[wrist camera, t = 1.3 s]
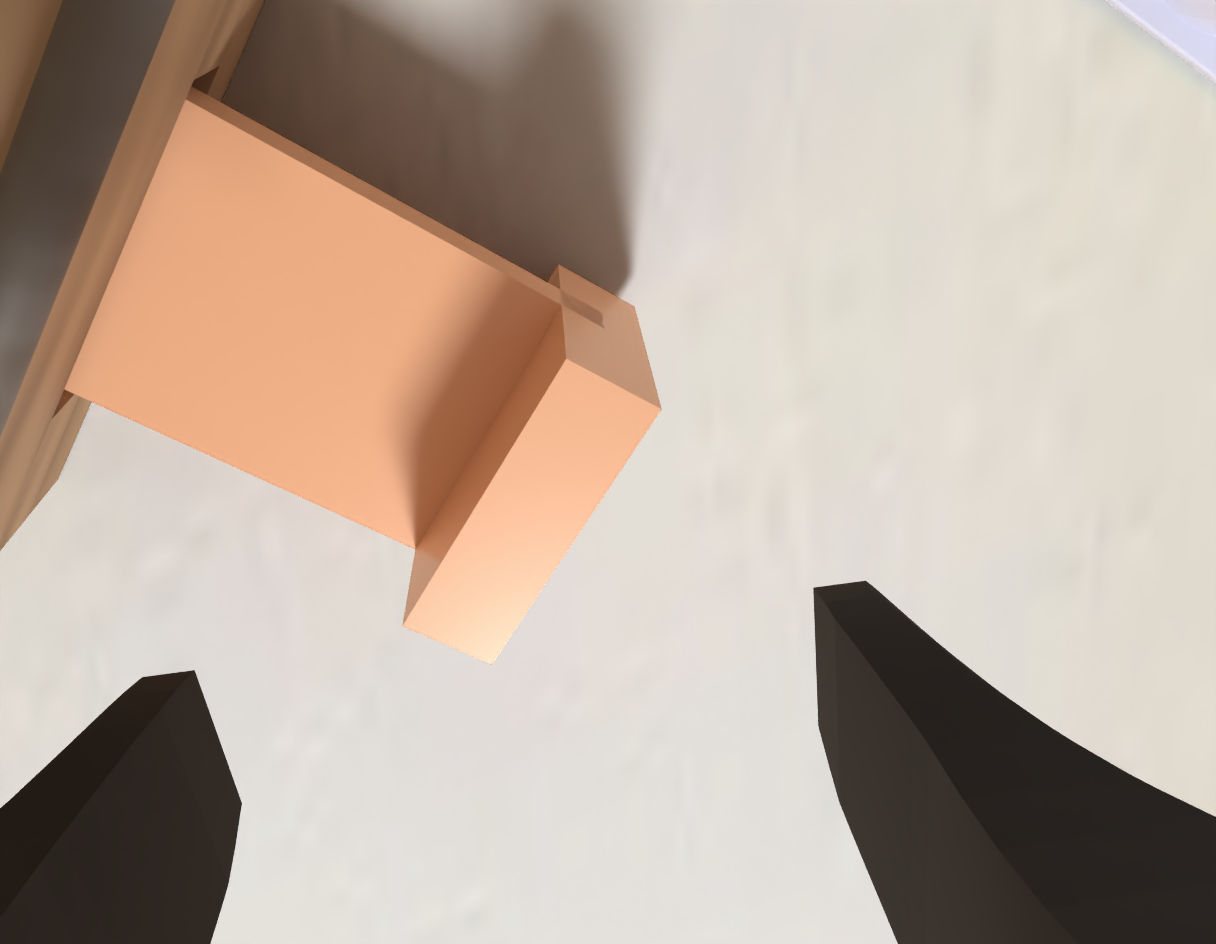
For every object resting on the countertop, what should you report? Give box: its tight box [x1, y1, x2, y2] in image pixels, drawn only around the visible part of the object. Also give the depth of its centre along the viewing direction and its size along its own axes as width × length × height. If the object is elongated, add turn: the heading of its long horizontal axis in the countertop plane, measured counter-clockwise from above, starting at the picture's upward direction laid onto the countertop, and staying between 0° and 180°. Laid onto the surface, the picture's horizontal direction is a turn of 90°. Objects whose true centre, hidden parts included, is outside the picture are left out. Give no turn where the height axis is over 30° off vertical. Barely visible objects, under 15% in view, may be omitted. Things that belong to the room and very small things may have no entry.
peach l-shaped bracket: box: [65, 86, 661, 665], centre depth 17 cm, size 14×5×5 cm, turn 59°
